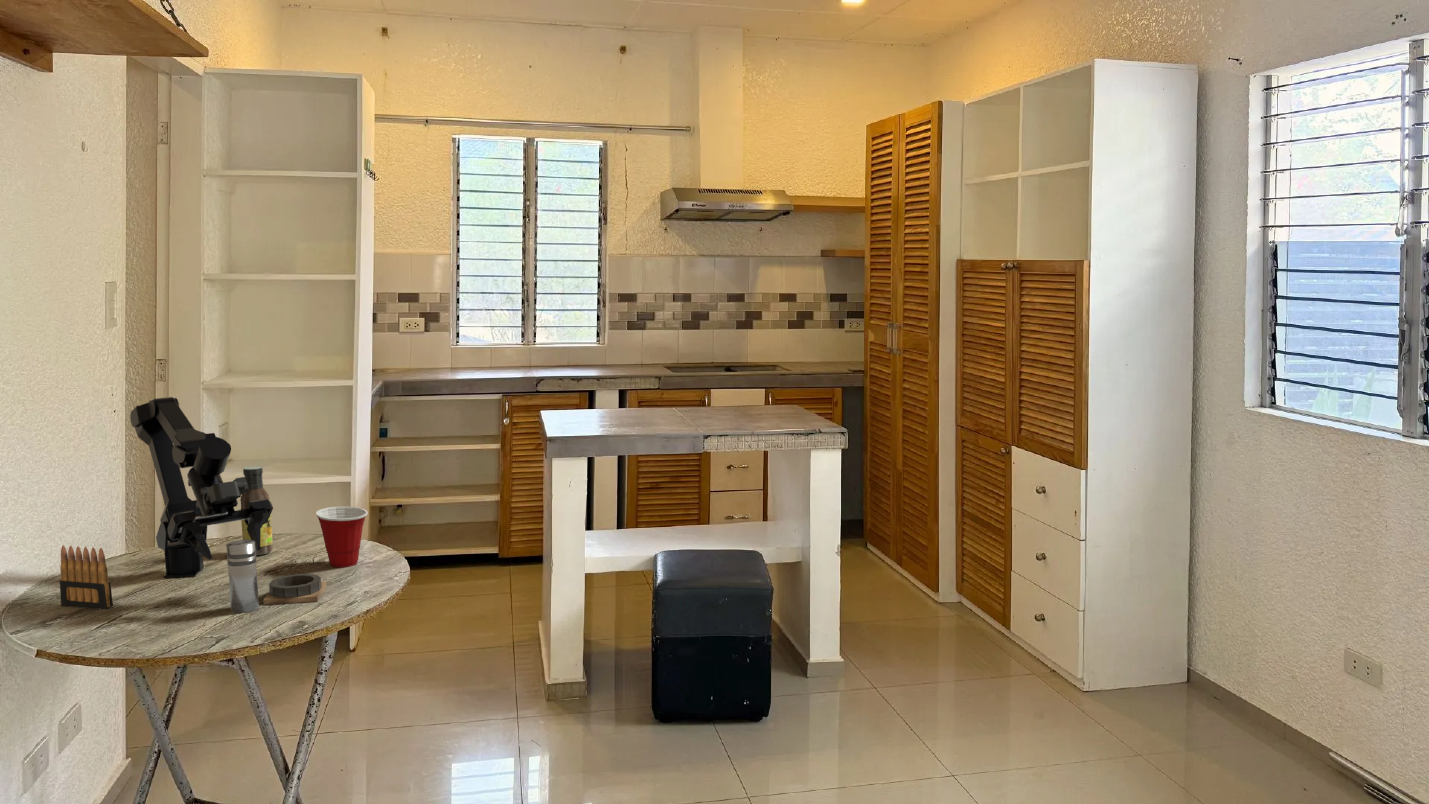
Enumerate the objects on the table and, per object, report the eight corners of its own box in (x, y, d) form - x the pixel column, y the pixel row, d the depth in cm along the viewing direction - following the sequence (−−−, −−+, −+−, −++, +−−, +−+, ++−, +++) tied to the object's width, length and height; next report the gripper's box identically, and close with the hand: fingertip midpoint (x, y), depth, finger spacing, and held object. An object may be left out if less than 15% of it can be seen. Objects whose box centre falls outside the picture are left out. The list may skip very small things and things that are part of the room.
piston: (227, 613, 210) (223, 547, 208) (234, 605, 215) (230, 540, 213) (255, 612, 210) (251, 545, 209) (261, 603, 215) (257, 539, 214)
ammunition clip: (60, 605, 215) (55, 546, 214) (68, 602, 217) (63, 543, 215) (106, 609, 213) (101, 549, 211) (113, 606, 214) (108, 546, 213)
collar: (263, 604, 215) (262, 589, 215) (275, 589, 225) (274, 574, 224) (317, 601, 217) (316, 586, 216) (326, 586, 226) (325, 572, 226)
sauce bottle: (275, 554, 251) (269, 468, 248) (245, 558, 248) (239, 471, 245) (271, 548, 256) (265, 463, 254) (242, 551, 253) (236, 466, 251)
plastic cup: (354, 572, 236) (351, 517, 235) (308, 569, 238) (305, 515, 237) (379, 558, 247) (377, 506, 245) (335, 556, 249) (332, 504, 247)
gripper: (167, 472, 208) (193, 539, 202) (266, 459, 221) (293, 521, 215) (156, 507, 215) (181, 572, 209) (252, 492, 228) (278, 553, 222)
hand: (235, 554), depth 213 cm, fingers open, 9 cm apart
